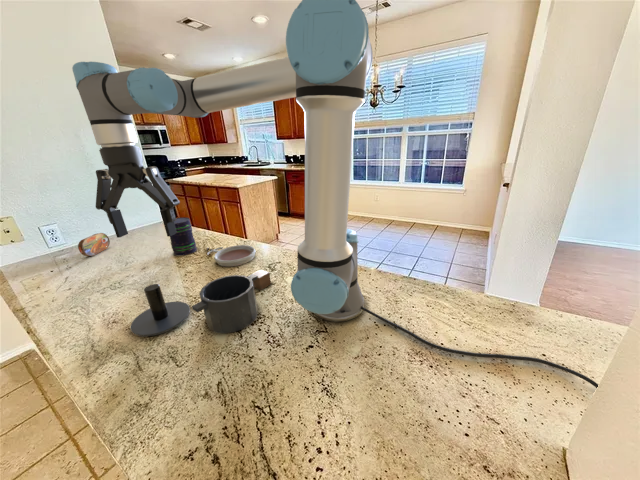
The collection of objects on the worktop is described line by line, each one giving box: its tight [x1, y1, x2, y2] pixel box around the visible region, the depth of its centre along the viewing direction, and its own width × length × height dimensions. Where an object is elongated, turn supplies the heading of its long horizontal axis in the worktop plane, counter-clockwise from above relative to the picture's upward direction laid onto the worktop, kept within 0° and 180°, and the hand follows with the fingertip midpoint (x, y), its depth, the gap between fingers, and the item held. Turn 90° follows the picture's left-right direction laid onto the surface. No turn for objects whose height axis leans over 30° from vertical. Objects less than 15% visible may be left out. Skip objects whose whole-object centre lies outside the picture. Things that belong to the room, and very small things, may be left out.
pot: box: [191, 273, 259, 334], centre depth 72 cm, size 14×19×10 cm
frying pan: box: [205, 244, 257, 267], centre depth 114 cm, size 17×3×28 cm
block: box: [252, 269, 272, 291], centre depth 88 cm, size 4×4×4 cm
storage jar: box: [169, 216, 198, 257], centre depth 119 cm, size 10×10×15 cm
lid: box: [130, 283, 191, 338], centre depth 72 cm, size 15×15×11 cm
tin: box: [77, 232, 111, 257], centre depth 125 cm, size 15×3×8 cm, turn 179°
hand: (147, 235), depth 66 cm, fingers open, 13 cm apart
